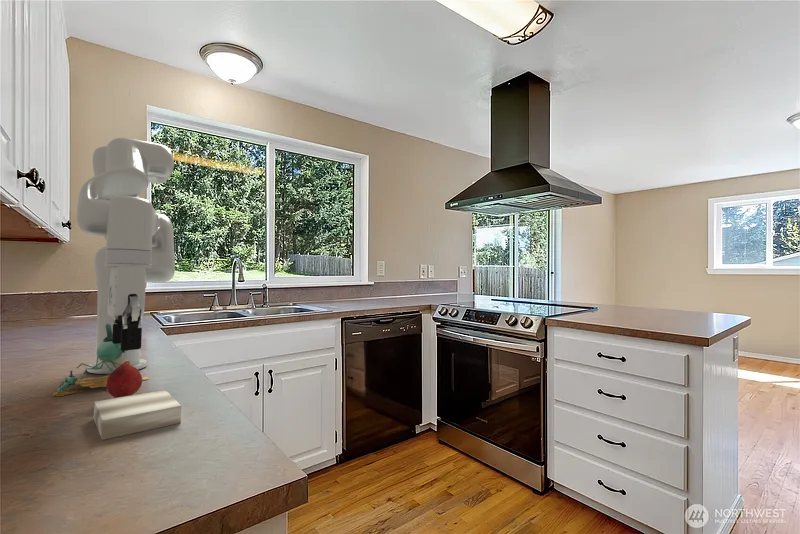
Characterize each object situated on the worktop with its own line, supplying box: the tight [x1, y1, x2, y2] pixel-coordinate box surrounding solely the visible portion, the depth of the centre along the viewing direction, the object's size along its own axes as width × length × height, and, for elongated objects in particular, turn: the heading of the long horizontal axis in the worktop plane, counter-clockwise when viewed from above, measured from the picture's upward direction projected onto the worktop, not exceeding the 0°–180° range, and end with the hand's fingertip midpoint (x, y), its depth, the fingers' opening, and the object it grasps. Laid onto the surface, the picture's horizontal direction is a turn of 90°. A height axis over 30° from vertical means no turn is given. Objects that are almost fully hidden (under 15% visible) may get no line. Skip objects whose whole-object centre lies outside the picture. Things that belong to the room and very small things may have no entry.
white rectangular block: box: [93, 389, 182, 441], centre depth 69 cm, size 11×11×3 cm
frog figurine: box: [51, 324, 149, 397], centre depth 88 cm, size 10×18×15 cm, turn 137°
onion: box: [105, 360, 143, 398], centre depth 78 cm, size 6×6×8 cm
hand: (126, 346), depth 78 cm, fingers open, 9 cm apart
